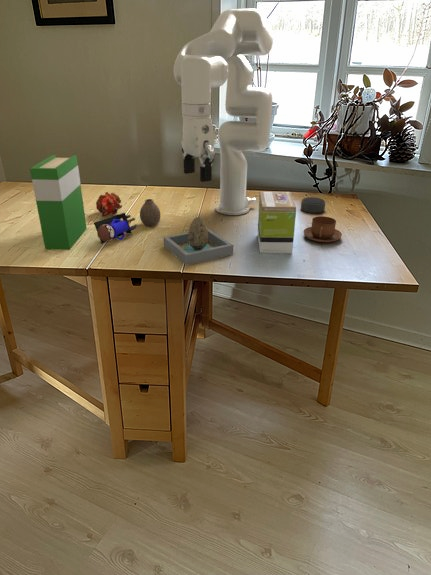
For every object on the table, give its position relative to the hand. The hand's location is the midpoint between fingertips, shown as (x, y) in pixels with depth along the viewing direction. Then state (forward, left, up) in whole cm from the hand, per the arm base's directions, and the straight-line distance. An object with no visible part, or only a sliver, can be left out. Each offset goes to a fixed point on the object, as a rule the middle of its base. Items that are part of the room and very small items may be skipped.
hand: (197, 176), depth 121 cm
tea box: (-23, +7, -22) cm, 33 cm away
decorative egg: (0, 0, -22) cm, 22 cm away
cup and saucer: (-40, +10, -22) cm, 47 cm away
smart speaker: (-56, -13, -22) cm, 62 cm away
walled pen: (0, 0, -22) cm, 22 cm away
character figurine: (+18, -20, -22) cm, 35 cm away
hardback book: (+32, -28, -22) cm, 48 cm away
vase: (+4, -27, -22) cm, 35 cm away
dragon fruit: (+13, -44, -22) cm, 51 cm away
